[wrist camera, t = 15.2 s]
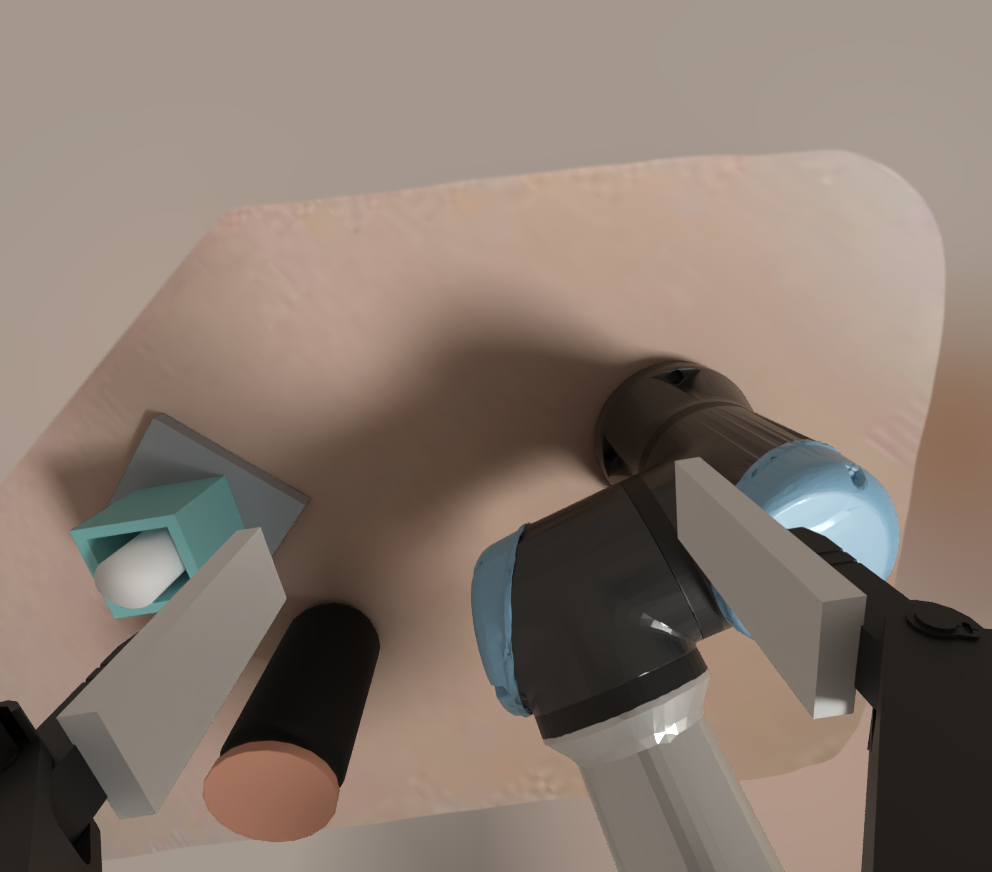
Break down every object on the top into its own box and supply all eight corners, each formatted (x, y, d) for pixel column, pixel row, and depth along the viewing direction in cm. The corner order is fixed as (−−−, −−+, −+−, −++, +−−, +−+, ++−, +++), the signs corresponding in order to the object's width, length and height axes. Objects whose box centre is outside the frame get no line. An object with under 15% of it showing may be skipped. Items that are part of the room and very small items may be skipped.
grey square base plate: (310, 498, 49) (261, 562, 38) (241, 603, 53) (178, 688, 42) (163, 413, 46) (63, 456, 35) (101, 532, 50) (-7, 604, 39)
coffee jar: (270, 624, 54) (172, 785, 37) (346, 583, 52) (280, 730, 35) (327, 685, 57) (261, 859, 40) (400, 648, 56) (364, 812, 38)
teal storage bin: (224, 475, 46) (174, 514, 39) (254, 553, 49) (212, 603, 42) (136, 489, 46) (69, 531, 39) (170, 566, 49) (114, 618, 42)
